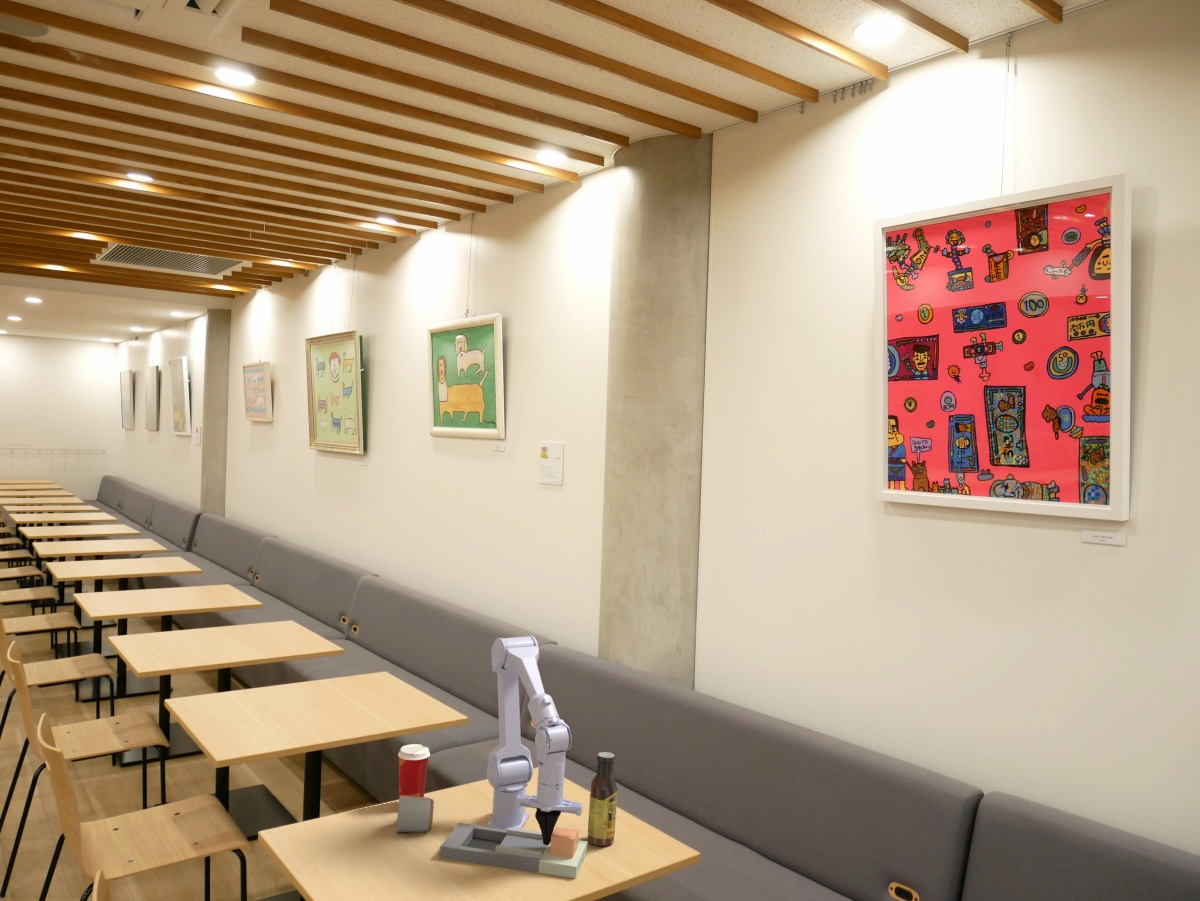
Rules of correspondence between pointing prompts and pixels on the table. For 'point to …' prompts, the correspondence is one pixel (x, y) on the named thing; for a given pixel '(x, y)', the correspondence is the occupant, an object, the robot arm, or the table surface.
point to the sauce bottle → (603, 802)
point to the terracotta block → (564, 842)
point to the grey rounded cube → (414, 814)
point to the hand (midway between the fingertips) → (547, 842)
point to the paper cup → (413, 770)
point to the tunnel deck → (509, 850)
